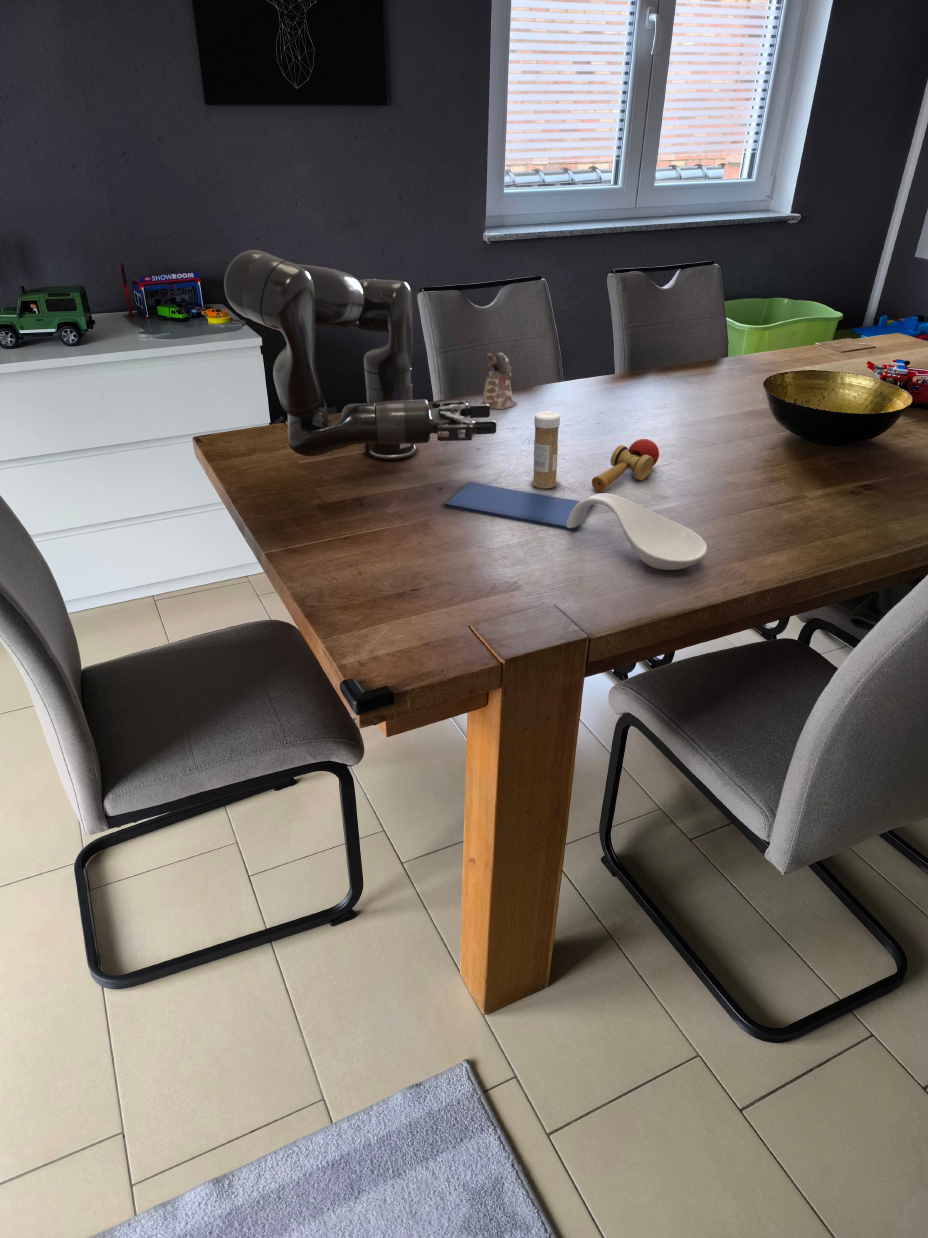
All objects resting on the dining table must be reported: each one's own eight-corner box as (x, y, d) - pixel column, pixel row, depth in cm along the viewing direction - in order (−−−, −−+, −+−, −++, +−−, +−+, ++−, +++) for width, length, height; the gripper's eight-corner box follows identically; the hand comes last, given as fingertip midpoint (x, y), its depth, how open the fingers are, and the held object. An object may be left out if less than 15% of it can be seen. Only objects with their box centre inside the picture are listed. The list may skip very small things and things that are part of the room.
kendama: (619, 504, 152) (671, 464, 162) (614, 472, 149) (667, 433, 158) (584, 499, 157) (637, 461, 167) (579, 468, 154) (633, 431, 164)
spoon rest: (716, 561, 131) (725, 520, 127) (678, 589, 123) (686, 546, 119) (592, 514, 144) (596, 475, 140) (551, 537, 136) (554, 496, 132)
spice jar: (561, 486, 156) (565, 415, 149) (541, 491, 154) (544, 420, 147) (546, 478, 159) (549, 408, 152) (527, 483, 157) (529, 413, 150)
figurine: (513, 409, 194) (515, 356, 188) (483, 408, 194) (483, 356, 188) (512, 399, 200) (514, 348, 194) (482, 399, 200) (483, 348, 194)
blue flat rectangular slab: (444, 506, 148) (444, 503, 148) (469, 484, 157) (469, 481, 156) (573, 530, 140) (574, 527, 140) (592, 505, 148) (593, 502, 148)
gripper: (402, 414, 139) (498, 411, 141) (399, 388, 151) (488, 385, 153) (404, 457, 143) (498, 453, 145) (401, 428, 155) (487, 425, 157)
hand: (492, 418), depth 149 cm, fingers open, 8 cm apart
